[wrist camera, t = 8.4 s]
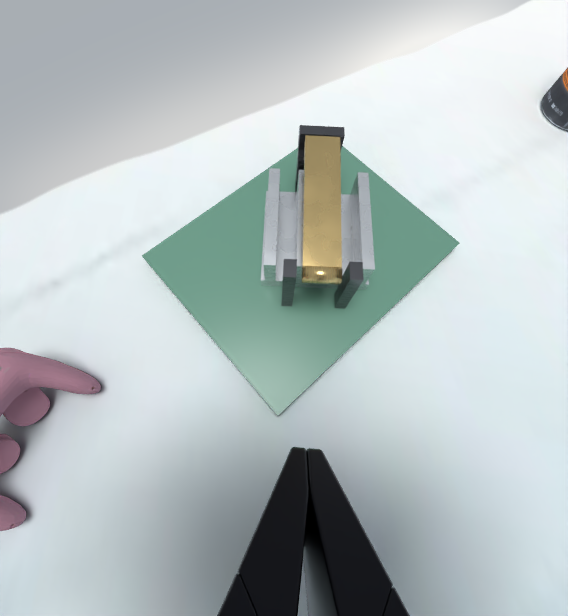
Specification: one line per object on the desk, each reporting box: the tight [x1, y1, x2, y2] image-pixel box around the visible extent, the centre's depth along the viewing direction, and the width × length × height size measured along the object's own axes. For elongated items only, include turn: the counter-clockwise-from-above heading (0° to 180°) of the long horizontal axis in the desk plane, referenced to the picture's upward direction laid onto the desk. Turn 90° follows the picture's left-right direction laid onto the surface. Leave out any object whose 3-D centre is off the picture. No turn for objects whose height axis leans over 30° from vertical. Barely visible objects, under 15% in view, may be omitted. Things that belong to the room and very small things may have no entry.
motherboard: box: [142, 146, 459, 416], centre depth 26 cm, size 16×20×1 cm
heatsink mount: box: [261, 125, 375, 309], centre depth 23 cm, size 12×8×5 cm, turn 178°
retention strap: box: [301, 135, 342, 284], centre depth 21 cm, size 11×2×1 cm, turn 178°
